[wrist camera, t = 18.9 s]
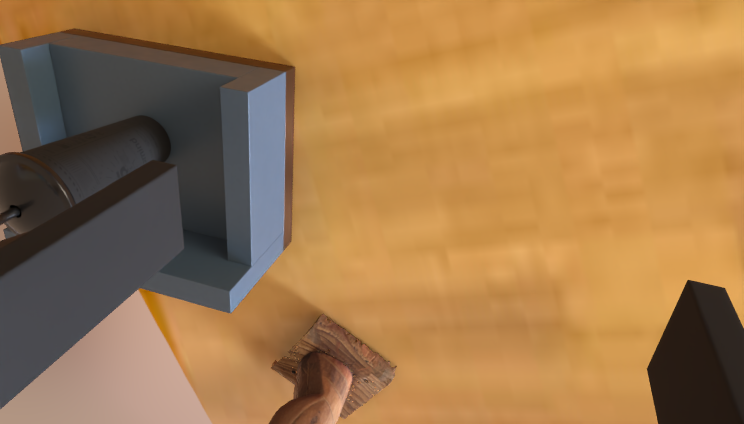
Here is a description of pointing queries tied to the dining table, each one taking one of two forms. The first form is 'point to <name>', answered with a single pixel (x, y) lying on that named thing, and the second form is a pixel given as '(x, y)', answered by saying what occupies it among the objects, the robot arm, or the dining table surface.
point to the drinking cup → (74, 169)
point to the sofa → (177, 142)
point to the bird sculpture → (329, 376)
